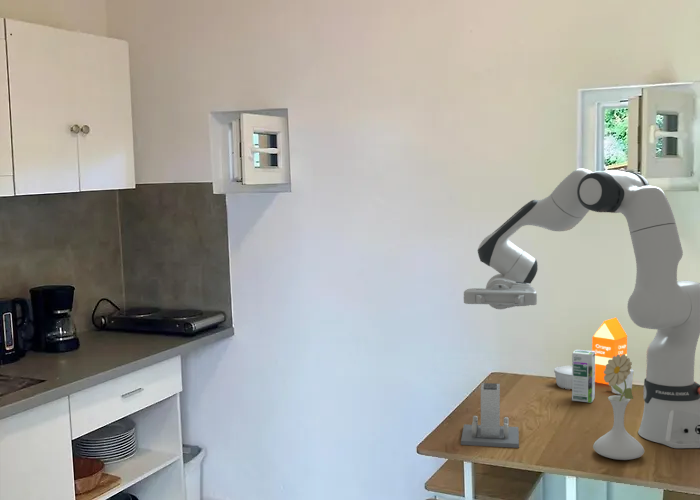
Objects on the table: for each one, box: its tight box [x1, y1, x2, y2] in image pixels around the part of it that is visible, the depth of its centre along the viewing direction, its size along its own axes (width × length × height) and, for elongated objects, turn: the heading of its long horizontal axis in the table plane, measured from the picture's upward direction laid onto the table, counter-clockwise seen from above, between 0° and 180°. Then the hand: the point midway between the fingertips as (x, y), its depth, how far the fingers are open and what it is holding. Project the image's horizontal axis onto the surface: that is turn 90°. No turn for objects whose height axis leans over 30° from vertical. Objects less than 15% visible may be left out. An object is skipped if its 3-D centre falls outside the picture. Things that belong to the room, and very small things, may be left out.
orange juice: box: [591, 317, 628, 386], centre depth 247 cm, size 8×9×20 cm
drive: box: [480, 382, 501, 437], centre depth 195 cm, size 5×6×12 cm
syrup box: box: [571, 349, 596, 404], centre depth 227 cm, size 6×6×14 cm
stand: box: [460, 415, 520, 449], centre depth 196 cm, size 14×13×4 cm
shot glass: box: [610, 368, 635, 396], centre depth 235 cm, size 7×7×7 cm
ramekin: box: [554, 365, 572, 390], centre depth 242 cm, size 11×11×5 cm
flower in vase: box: [592, 354, 645, 461], centre depth 180 cm, size 13×11×25 cm
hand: (499, 301), depth 211 cm, fingers open, 8 cm apart
